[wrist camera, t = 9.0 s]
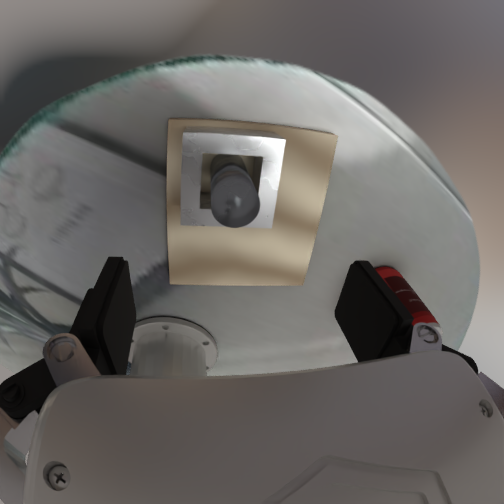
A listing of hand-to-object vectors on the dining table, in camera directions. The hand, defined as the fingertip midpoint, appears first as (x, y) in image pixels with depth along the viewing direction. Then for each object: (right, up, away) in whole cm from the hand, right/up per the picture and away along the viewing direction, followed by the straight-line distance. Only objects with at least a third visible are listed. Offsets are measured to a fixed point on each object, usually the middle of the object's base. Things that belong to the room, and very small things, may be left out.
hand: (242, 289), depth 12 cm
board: (0, +5, +15) cm, 16 cm away
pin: (-2, +8, +11) cm, 14 cm away
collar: (-2, +8, +11) cm, 14 cm away
